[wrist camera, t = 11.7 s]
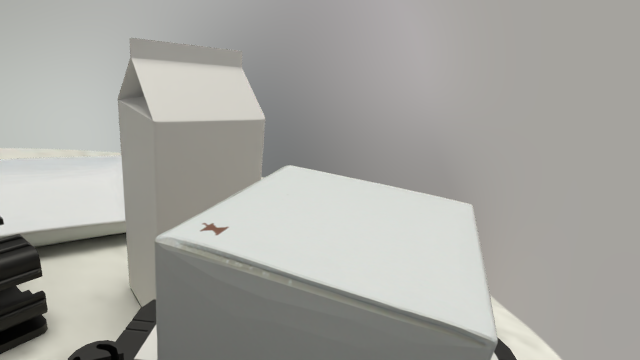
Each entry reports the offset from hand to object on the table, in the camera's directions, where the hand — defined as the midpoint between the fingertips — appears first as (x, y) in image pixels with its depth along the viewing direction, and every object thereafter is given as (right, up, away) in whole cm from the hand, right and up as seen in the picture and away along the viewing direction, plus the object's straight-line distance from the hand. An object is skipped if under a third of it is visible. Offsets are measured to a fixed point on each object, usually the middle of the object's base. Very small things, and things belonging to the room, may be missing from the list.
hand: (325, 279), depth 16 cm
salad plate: (-30, +1, +22) cm, 38 cm away
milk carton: (-11, -5, +12) cm, 17 cm away
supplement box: (-1, -8, -2) cm, 9 cm away
